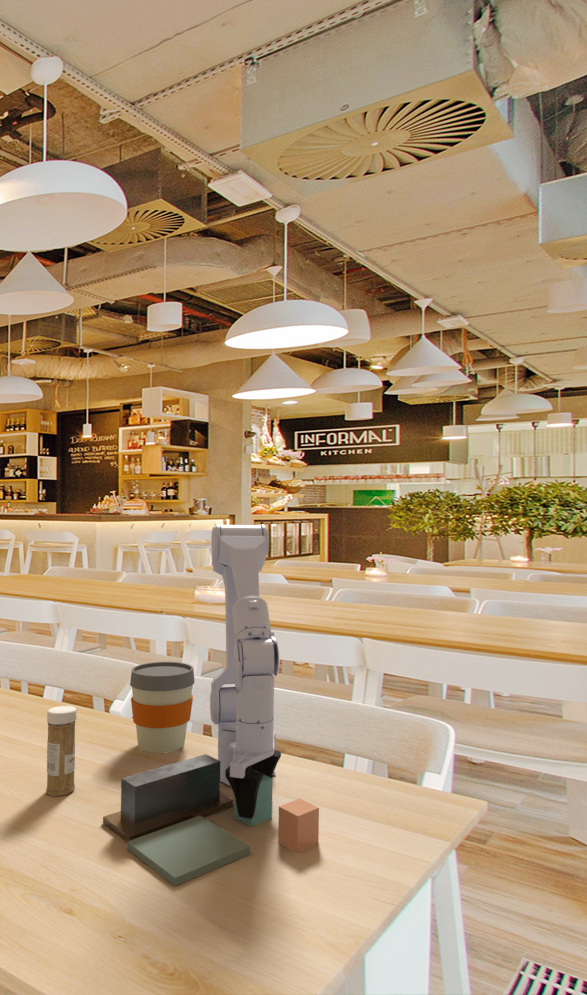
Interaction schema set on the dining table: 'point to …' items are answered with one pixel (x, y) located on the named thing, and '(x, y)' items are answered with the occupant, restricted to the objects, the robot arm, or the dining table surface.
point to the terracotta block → (298, 825)
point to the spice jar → (61, 750)
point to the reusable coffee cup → (161, 704)
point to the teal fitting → (260, 803)
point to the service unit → (168, 797)
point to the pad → (188, 849)
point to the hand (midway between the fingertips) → (253, 808)
